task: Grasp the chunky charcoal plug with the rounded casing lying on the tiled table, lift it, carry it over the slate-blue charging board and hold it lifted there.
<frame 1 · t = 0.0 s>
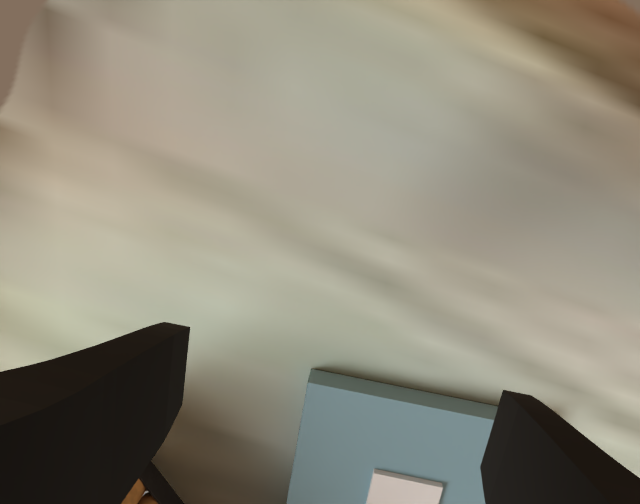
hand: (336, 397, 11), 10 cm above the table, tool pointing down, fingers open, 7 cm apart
charging board: (395, 502, 24), on the table
ammunition clip: (149, 479, 25), on the table
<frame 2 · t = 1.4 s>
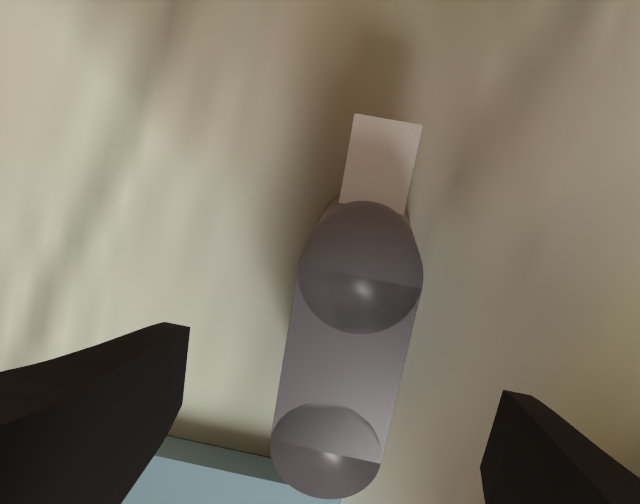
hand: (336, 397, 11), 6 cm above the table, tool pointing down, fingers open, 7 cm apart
plug: (351, 300, 18), on the table
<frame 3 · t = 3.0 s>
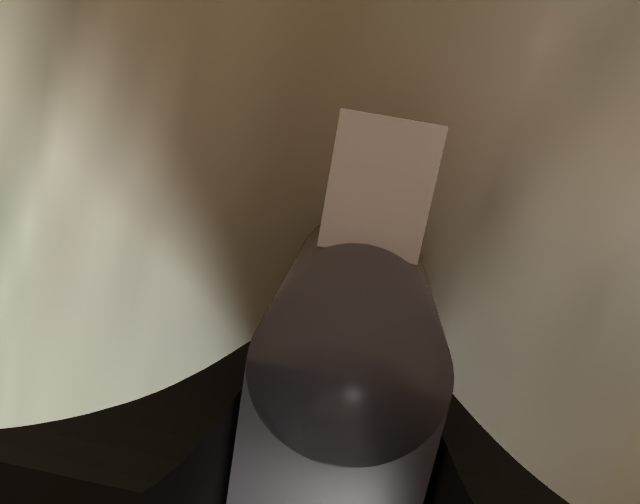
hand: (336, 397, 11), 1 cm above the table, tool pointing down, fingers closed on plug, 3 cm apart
plug: (340, 367, 13), on the table, touching gripper
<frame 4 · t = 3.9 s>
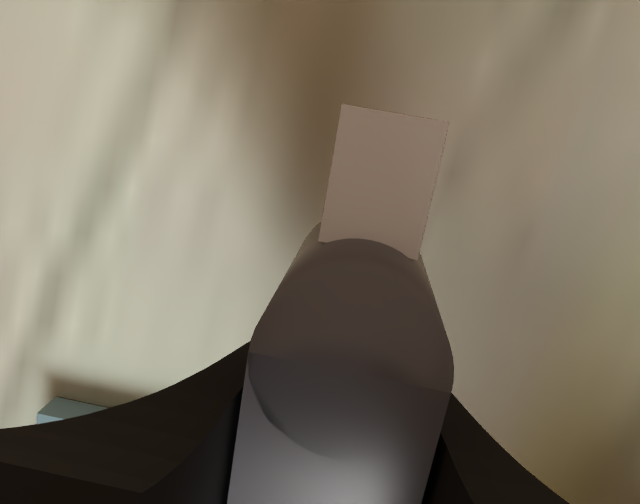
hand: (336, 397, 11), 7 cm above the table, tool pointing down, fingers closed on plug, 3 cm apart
plug: (340, 363, 13), point 6 cm above the table, touching gripper
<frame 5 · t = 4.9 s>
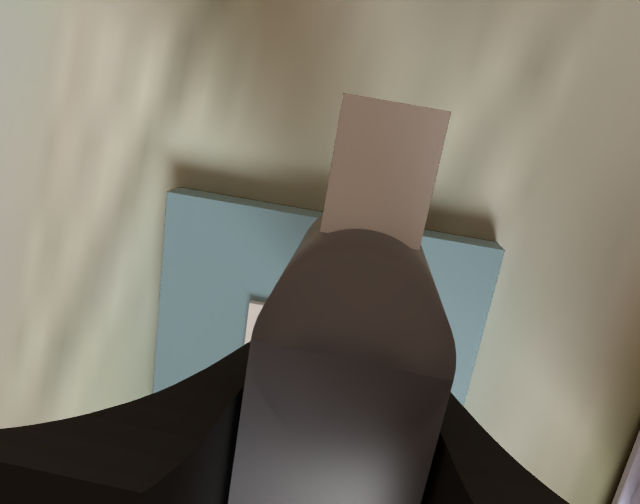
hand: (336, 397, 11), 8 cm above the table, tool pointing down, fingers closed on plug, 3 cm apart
charging board: (315, 335, 20), on the table
plug: (342, 356, 13), point 7 cm above the table, touching gripper
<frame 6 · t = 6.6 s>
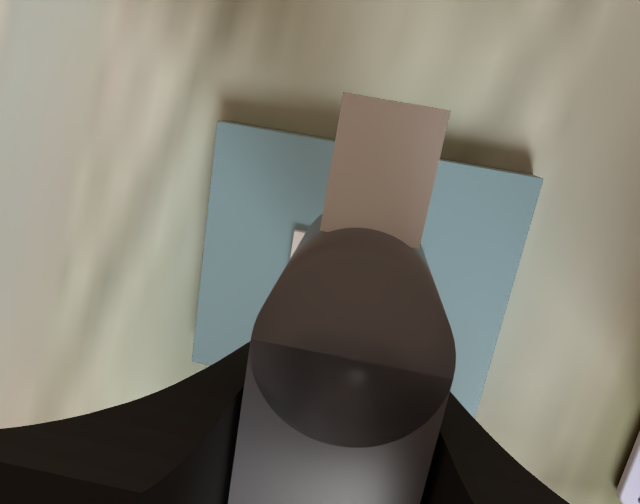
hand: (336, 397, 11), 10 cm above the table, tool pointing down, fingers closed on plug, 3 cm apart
charging board: (353, 269, 21), on the table
plug: (342, 355, 13), point 8 cm above the table, touching gripper
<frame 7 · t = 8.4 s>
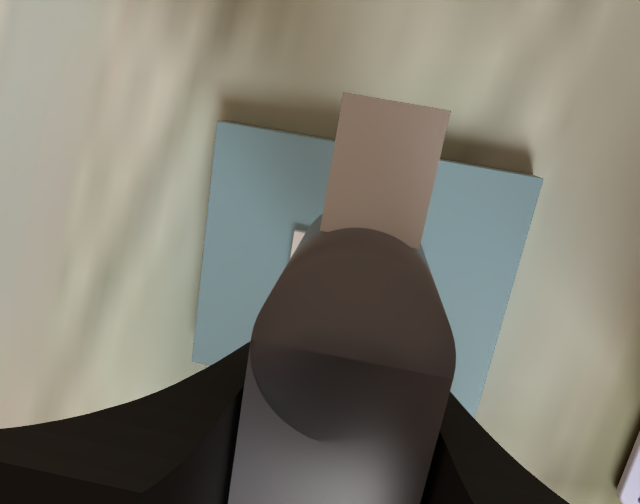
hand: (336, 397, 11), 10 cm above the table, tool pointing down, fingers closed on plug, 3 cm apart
charging board: (353, 269, 21), on the table
plug: (342, 355, 13), point 8 cm above the table, touching gripper
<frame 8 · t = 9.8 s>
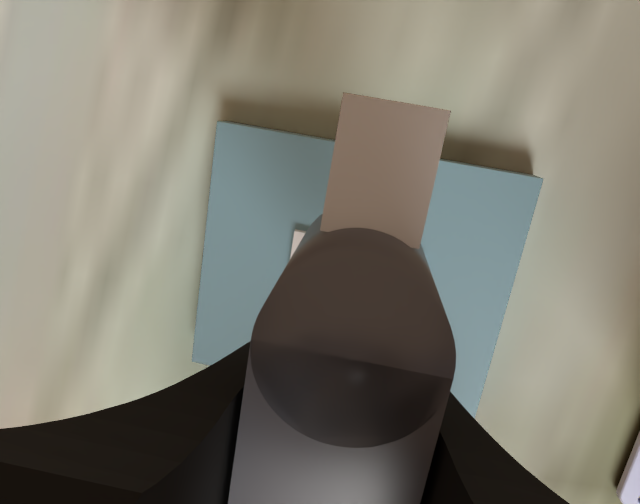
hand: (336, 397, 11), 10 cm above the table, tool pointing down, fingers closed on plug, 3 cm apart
charging board: (353, 269, 21), on the table
plug: (342, 355, 13), point 8 cm above the table, touching gripper
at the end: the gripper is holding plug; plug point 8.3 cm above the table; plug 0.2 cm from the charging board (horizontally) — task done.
